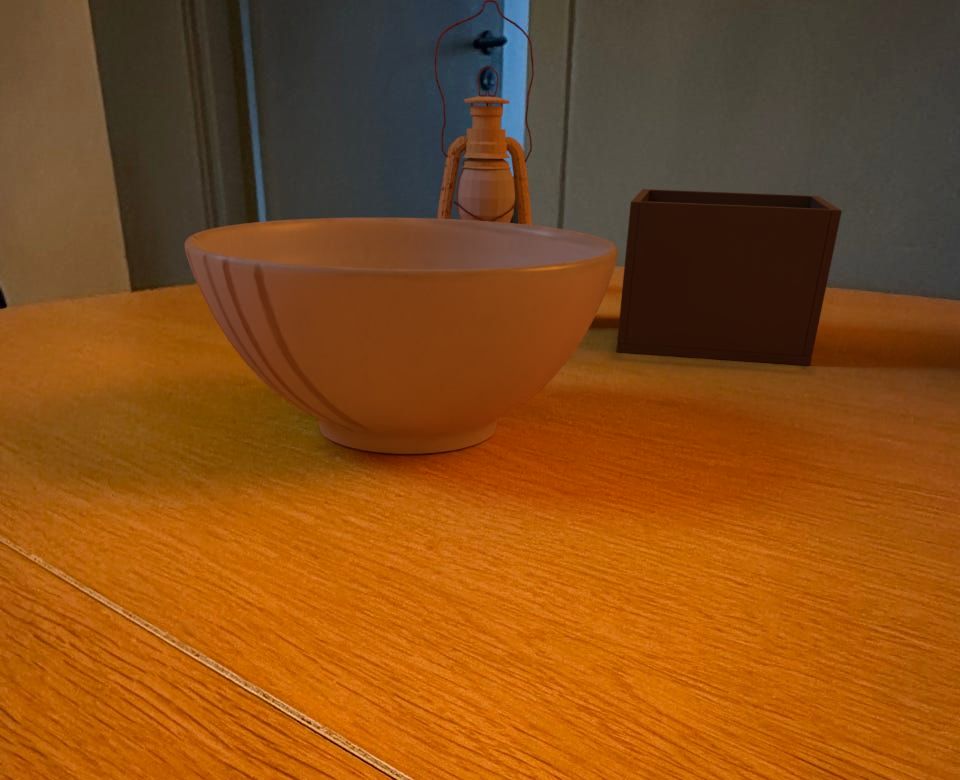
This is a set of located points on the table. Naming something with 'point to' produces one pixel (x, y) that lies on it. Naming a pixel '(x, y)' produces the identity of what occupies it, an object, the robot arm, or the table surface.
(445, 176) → the lantern
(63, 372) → the table surface
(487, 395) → the decorative bowl
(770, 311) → the waste bin
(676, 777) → the table surface
